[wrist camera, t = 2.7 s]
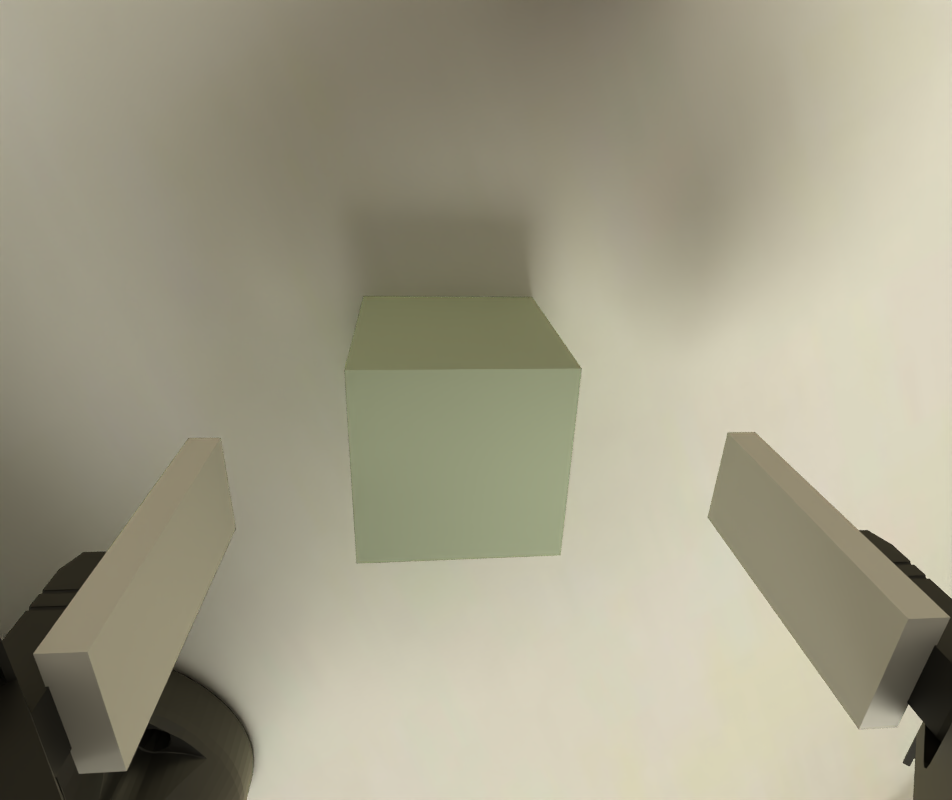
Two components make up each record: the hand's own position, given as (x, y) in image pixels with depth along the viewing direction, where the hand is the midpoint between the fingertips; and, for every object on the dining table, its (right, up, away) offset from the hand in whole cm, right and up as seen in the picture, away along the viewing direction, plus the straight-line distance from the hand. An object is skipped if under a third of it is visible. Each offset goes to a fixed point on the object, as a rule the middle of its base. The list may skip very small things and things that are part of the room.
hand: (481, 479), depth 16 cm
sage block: (-1, +3, +7) cm, 8 cm away
